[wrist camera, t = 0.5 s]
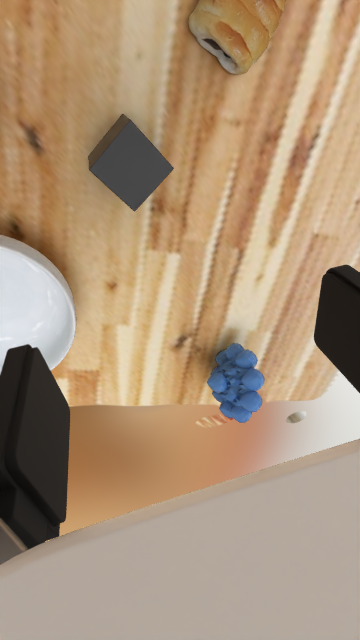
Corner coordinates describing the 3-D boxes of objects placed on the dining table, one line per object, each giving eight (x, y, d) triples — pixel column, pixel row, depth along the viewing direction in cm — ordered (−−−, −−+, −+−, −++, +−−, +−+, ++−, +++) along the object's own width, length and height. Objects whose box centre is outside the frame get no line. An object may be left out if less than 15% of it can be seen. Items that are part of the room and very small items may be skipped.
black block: (122, 113, 30) (130, 119, 25) (161, 156, 33) (174, 168, 28) (87, 156, 31) (88, 169, 27) (127, 194, 34) (134, 211, 29)
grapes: (205, 321, 46) (236, 383, 37) (247, 324, 49) (287, 382, 39) (186, 381, 53) (209, 447, 43) (224, 381, 55) (254, 443, 45)
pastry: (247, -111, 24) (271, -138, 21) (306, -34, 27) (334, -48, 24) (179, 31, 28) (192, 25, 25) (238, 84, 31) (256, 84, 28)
